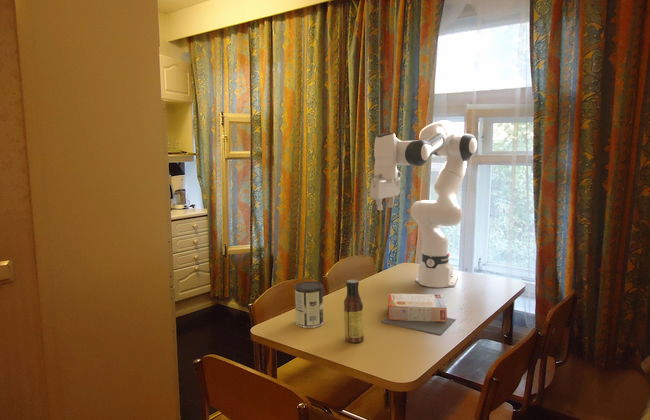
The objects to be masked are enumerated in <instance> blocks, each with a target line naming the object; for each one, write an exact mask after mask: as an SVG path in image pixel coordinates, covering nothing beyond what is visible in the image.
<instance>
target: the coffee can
mask: <svg viewBox="0 0 650 420" xmlns="http://www.w3.org/2000/svg"><path fill="white" fill-rule="evenodd" d="M323 290H324V284H323V283H322V282H319V281H318V282H317V281H302V282H299V283H298V282H297V283H296V284H295V285H294V297H295V298H294V299H295V300H294V302H295V303H294V304H295V325H296V326H297V325H298V326H297V327H299V326H300V327H299V328H302V327H303V329H314V328H315V329H316V328H319V327H321V326H323V324H324V323H325V321H324V297H323V296H324V293H323Z"/></svg>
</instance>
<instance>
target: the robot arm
mask: <svg viewBox="0 0 650 420" xmlns="http://www.w3.org/2000/svg"><path fill="white" fill-rule="evenodd" d="M418 138H419V139H417V140H405V141H404V140H401V139H399V138H398V137H396V134H395V133H394V132H382V133H379V134H377V135H376V137H375V139H374V146H373V147H374V148H373V149H374V150H373V156H374V161H375V162H374V166H373V171H374V172H373V174H374V176H373V178H372V179H371V182H370V188H369V191H370V192H369V196H370V199H371V200H375V203H376V209H377V211H383V210H384V205H383V204H382V203H383V200H384V199H387V198H388V203H387V208H388V209H389V208H391V209H392V208H394V203H395V199H396V197H397V196H399V195H400V192H401V178H402V172H401V171H399V170H398V168H397V166H414V167H415V166H416V167H421V166H424V165H426V163H427V162H428V161H429V159H430V158H431V157H432V156H436V157H444V158H446V161H445V162H444V164H443V166H442V167H441V169H440V171H439V173H438V176H437V178H436V180H435V183H434V186H433V187H434V188H433V189H434V191H435V193H436V194H437V195H438V198H437V200H431V199H429V200H428V199H423V200H417V201H415V202H413V204H412V205H411V207H410V208H411V209H410V216H411V218H412V219H413V220H414V221H415V223H416V224H417V225H418V227H419V230H420V233H421V237H422V253H421V262H420V263H419V265H418V275H417V277H416V278H414V280H415V282H417V283H418V284H419V285H421V286H425V287H428V288H446V287H447V288H448V287H455V286H456V284H457V282H458V276H457V275H454V269H453V266H452V264H450V262H449V261H450V260H449V258H450V253H449V252H448V237H447V235H446V234H444V232H443V231H442V230H441V228H440V226H441V227H442V226H443V227H451V226H452V227H453V226H457V225H459V224H460V223H461V220H462V218H463V210H462V208H461V206H460V205H459V203H458V194H459V191H460V188H461V185H462V183H463V181H464V177H465V175H466V169H467V165H468V161H469V160H471V158H472V157H473V156H474V155H475V154H476V151H477V149H478V140H477V138H476V136H475V135H473V134H471V133H458V132H457V131H456V127H455V125H454V124H453V122H452V121H449V120H439V121H436V122H432V123H430V124H429V125H426V126H425V127H424V128H422V129H421V130H420V133H419V137H418Z"/></svg>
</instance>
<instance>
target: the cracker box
mask: <svg viewBox="0 0 650 420" xmlns="http://www.w3.org/2000/svg"><path fill="white" fill-rule="evenodd" d="M387 299H388V302H387V303H388V304H387V317H388V320H401V321H427V322H446V321H447V317H448V313H447V312H448V308H447V305H446V301H445V299H444V295H443V294H426V293H425V294H424V293H420V294H419V293H393V292H392V293H388V297H387Z"/></svg>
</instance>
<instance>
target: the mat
mask: <svg viewBox="0 0 650 420" xmlns="http://www.w3.org/2000/svg"><path fill="white" fill-rule="evenodd" d="M455 321H456V318H452V317H448V316H447V321H446V322H427V321H401V320H388V316H387V317H385V318H384V319H382V320H381V321H380V323H383V324H386V325H387V324H388V325H391V326H392V325H393V326H395V327H396V326H398V327H401V328H405V329H411V330H414V331H419V332H424V333H428V334H432V335H436V336H442V335H443V334H444V332H445V331H447V330H448V329H449V327H450V326H451V325H452V324H453V323H454V322H455Z"/></svg>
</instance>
